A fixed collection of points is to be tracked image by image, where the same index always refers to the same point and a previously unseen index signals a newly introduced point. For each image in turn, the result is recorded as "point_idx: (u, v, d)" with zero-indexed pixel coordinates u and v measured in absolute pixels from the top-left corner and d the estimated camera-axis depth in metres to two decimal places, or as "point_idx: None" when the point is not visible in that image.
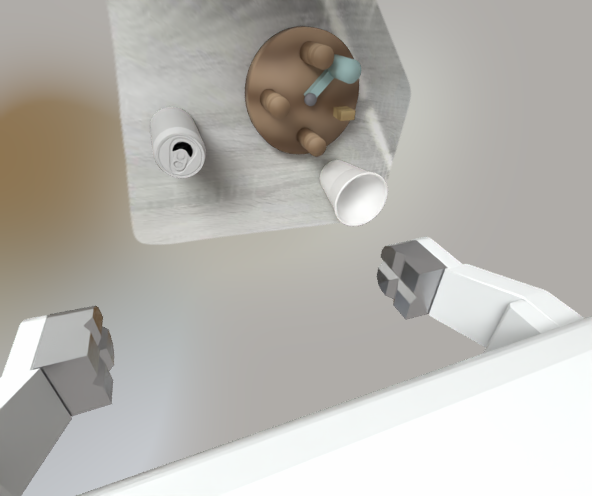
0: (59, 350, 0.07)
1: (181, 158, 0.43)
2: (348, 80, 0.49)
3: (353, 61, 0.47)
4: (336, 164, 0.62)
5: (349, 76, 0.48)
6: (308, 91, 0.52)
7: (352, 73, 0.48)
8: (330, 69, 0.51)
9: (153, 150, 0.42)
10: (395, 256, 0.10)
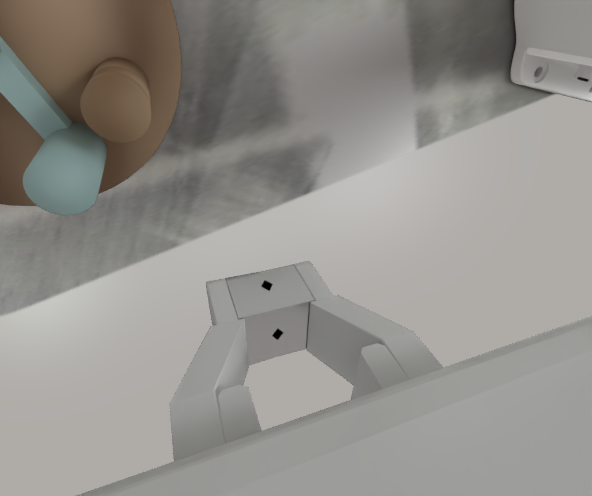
0: (252, 305, 0.08)
1: None
2: (34, 175, 0.16)
3: (92, 195, 0.17)
4: None
5: (47, 180, 0.16)
6: (5, 48, 0.17)
7: (55, 190, 0.17)
8: (71, 132, 0.19)
9: None
10: (264, 285, 0.09)
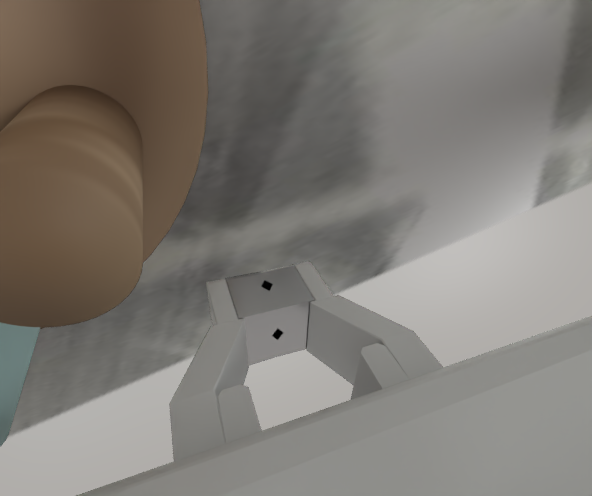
0: (252, 305, 0.08)
1: None
2: None
3: None
4: None
5: None
6: None
7: None
8: None
9: None
10: (264, 285, 0.09)
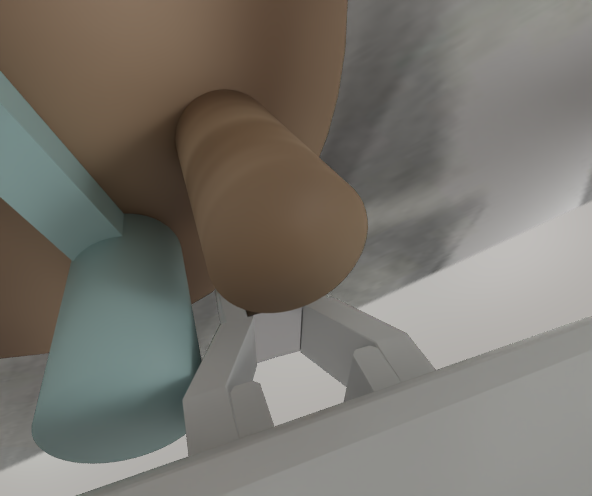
0: None
1: None
2: (63, 411, 0.06)
3: None
4: None
5: (96, 413, 0.06)
6: None
7: (111, 426, 0.07)
8: (131, 247, 0.09)
9: None
10: None
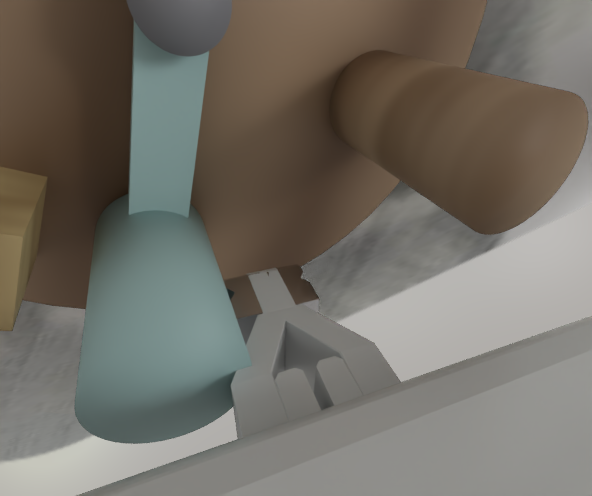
0: (294, 295, 0.09)
1: None
2: (142, 358, 0.06)
3: (209, 416, 0.07)
4: None
5: (161, 373, 0.06)
6: None
7: (151, 396, 0.06)
8: (197, 233, 0.09)
9: None
10: None
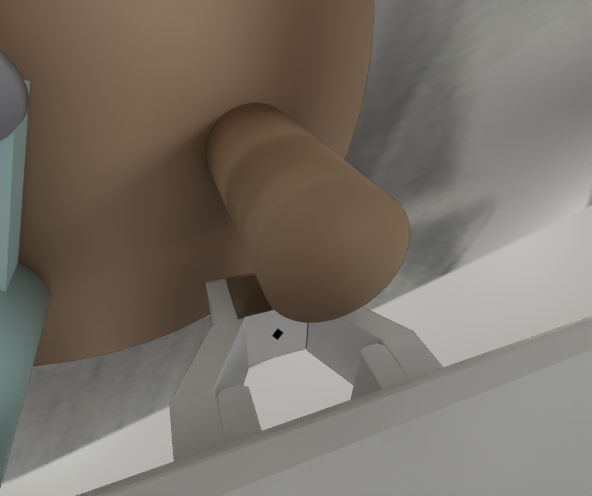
0: (252, 305, 0.08)
1: None
2: None
3: None
4: None
5: None
6: (20, 124, 0.07)
7: None
8: (8, 310, 0.08)
9: None
10: None
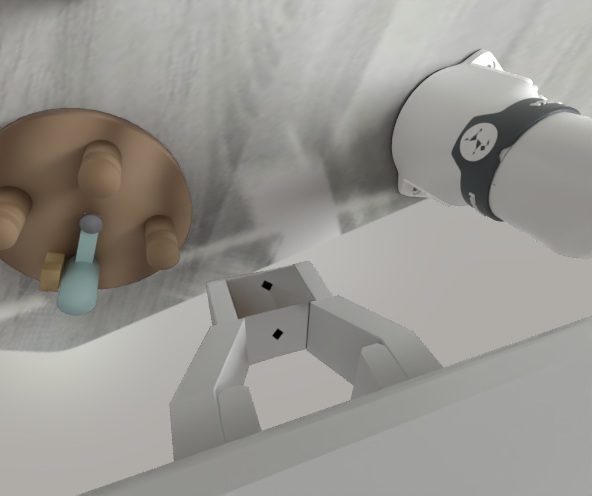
0: (252, 305, 0.08)
1: None
2: (71, 293, 0.30)
3: (85, 311, 0.32)
4: None
5: (74, 297, 0.31)
6: None
7: (72, 302, 0.31)
8: (93, 268, 0.34)
9: None
10: (264, 285, 0.09)
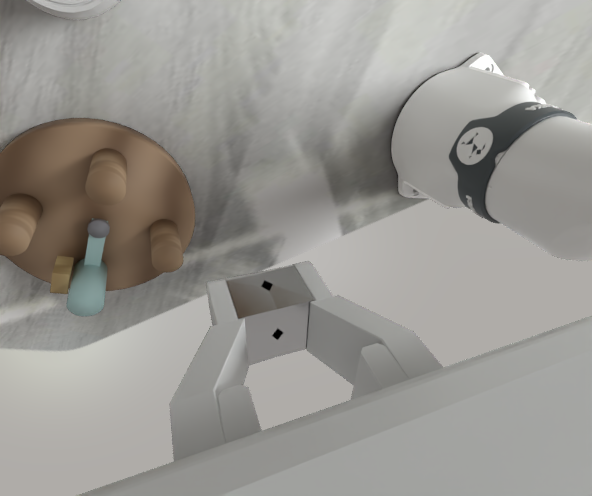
0: (252, 305, 0.08)
1: None
2: (80, 295, 0.32)
3: (94, 312, 0.33)
4: None
5: (83, 299, 0.32)
6: None
7: (81, 304, 0.32)
8: (101, 271, 0.35)
9: None
10: (265, 285, 0.09)
